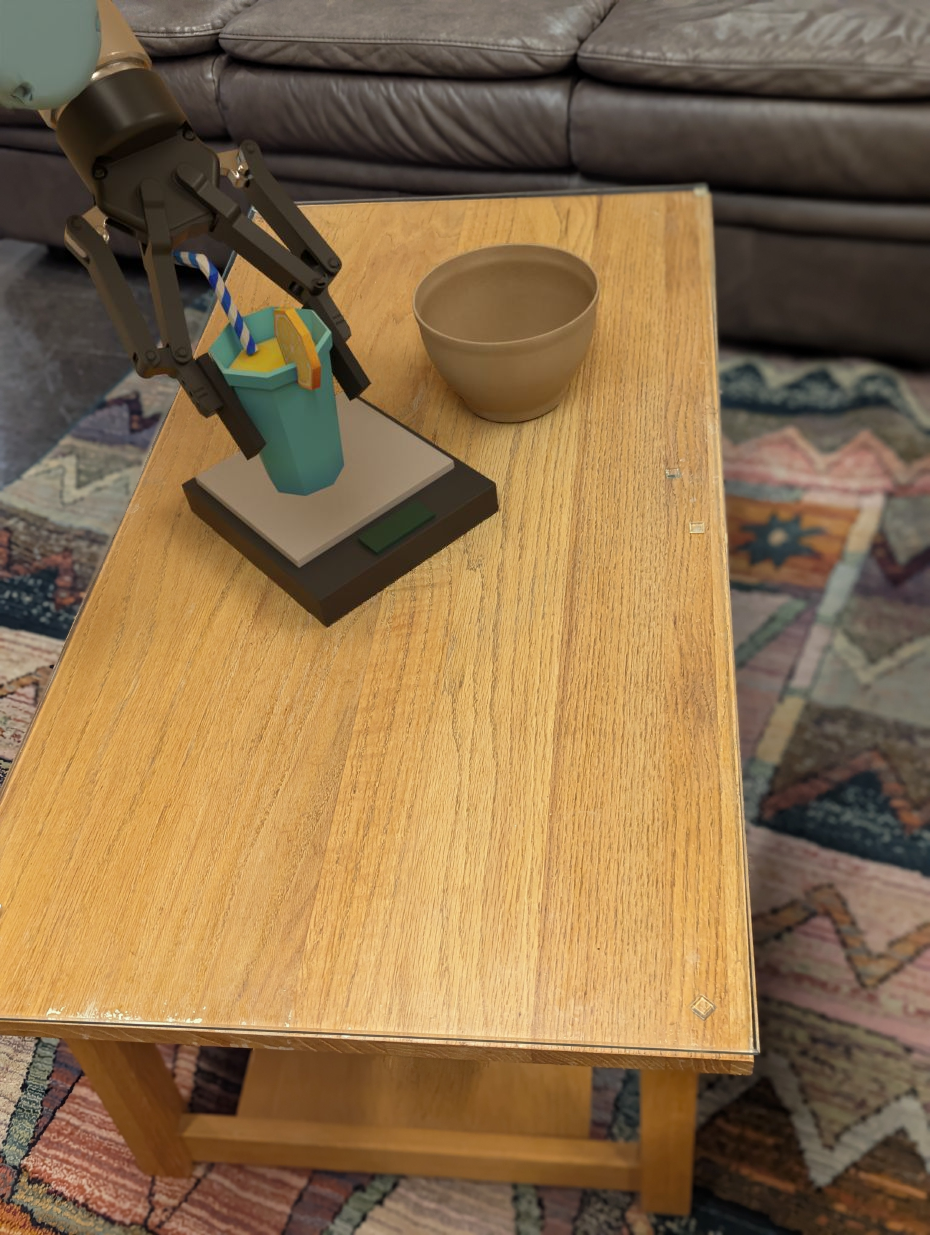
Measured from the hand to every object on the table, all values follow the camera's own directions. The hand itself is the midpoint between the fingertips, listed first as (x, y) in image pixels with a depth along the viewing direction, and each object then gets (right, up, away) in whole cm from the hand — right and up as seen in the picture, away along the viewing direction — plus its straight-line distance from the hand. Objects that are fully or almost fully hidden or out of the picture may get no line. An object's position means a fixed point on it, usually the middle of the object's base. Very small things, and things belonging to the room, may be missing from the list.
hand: (309, 421), depth 69 cm
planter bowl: (+14, +8, +32) cm, 36 cm away
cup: (-2, -2, +6) cm, 7 cm away
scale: (-1, -4, +23) cm, 23 cm away
